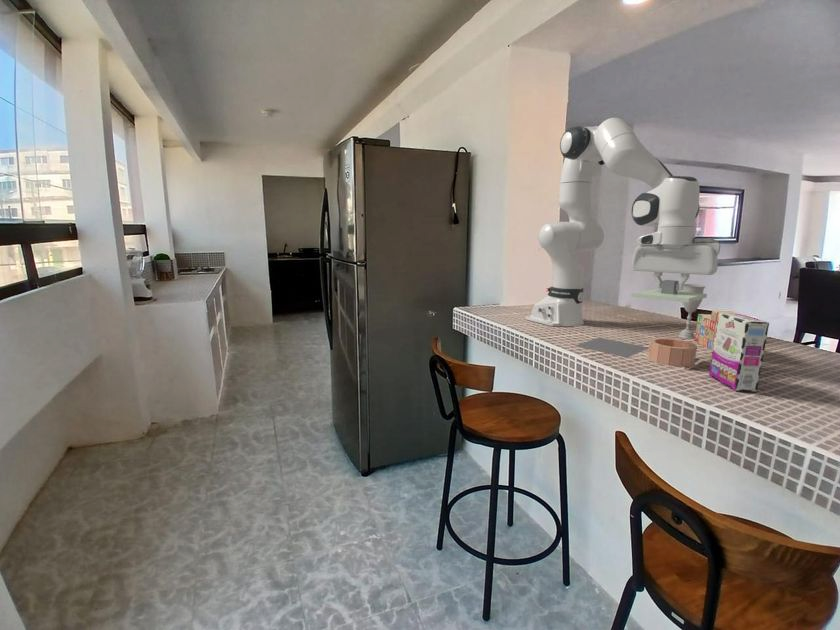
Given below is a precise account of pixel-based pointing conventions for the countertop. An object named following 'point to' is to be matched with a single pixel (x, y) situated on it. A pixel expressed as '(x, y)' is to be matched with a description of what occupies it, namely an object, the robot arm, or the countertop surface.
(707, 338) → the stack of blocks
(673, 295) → the lid
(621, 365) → the countertop surface
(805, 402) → the countertop surface
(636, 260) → the robot arm
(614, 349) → the mat
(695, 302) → the chalice
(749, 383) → the candy bar box
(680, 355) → the bowl
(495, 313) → the countertop surface
